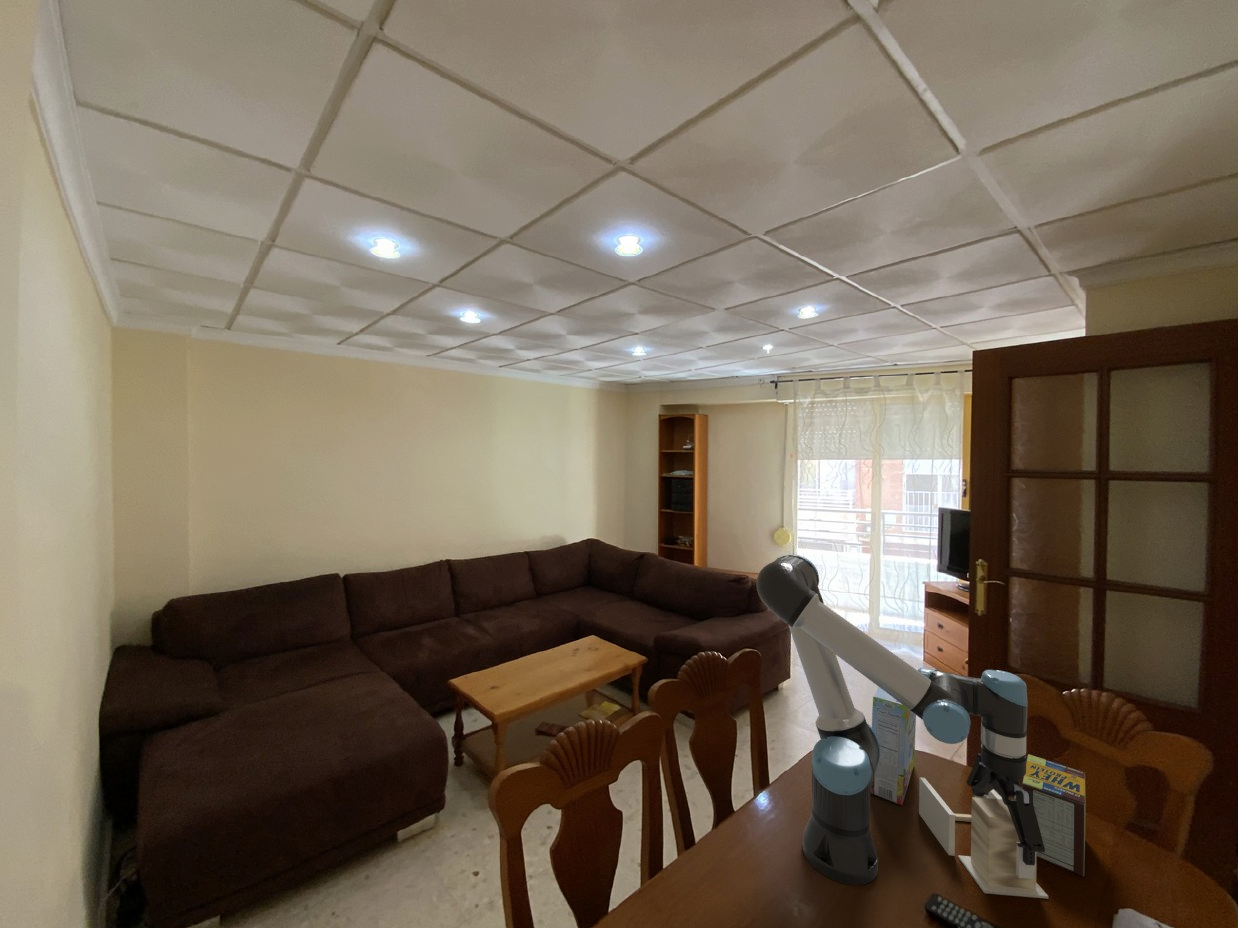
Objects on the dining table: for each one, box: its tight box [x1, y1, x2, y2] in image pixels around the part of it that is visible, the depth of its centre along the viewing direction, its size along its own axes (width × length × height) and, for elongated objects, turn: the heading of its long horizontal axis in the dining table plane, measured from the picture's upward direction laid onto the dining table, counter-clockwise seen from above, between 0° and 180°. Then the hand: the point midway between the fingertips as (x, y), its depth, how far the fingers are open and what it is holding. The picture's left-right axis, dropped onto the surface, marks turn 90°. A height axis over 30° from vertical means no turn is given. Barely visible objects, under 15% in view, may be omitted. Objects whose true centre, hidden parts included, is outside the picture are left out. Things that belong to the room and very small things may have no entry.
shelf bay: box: [918, 777, 1002, 857], centre depth 116 cm, size 15×13×9 cm
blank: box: [970, 796, 1038, 889], centre depth 104 cm, size 9×6×14 cm, turn 84°
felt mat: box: [957, 854, 1049, 900], centre depth 104 cm, size 12×9×1 cm
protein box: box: [1022, 754, 1087, 877], centre depth 113 cm, size 10×15×16 cm
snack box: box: [870, 687, 917, 806], centre depth 136 cm, size 22×9×26 cm, turn 143°
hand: (1001, 849), depth 104 cm, fingers open, 13 cm apart
